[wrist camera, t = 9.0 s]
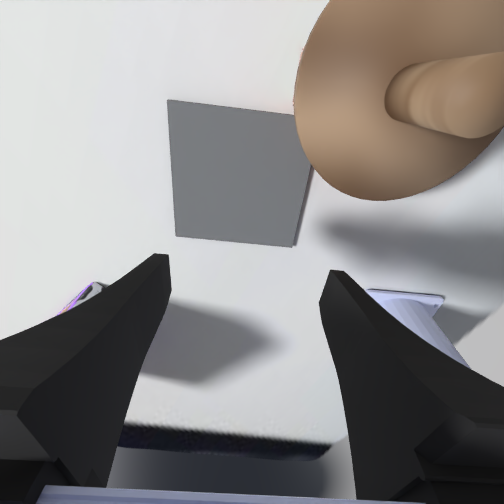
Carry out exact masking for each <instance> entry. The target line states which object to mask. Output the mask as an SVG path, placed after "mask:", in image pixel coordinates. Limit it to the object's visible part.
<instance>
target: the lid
mask: <svg viewBox="0 0 504 504" xmlns="http://www.w3.org/2000/svg"><path fill="white" fill-rule="evenodd" d="M294 118H295V124H296V130H297V134H298V137H299V141H300V144H301V146H302V148H303V151H304V153H305V155H306V157H307V158H308V160H309V161H310V163H311V165H312V166H313V167H314V169H315V170H316V171H317V172H318V174H319V175H320V176H321V177H322V178H323V179H324V180H325V181H326V182H327V183H329V184H330V185H331V186H332V187H334V188H336V189H337V190H339V191H340V192H343V193H345V194H347V195H350V196H352V197H356V198H360V199H365V200H373V201H387V200H395V199H401V198H405V197H409V196H413V195H416V194H418V193H421V192H424V191H426V190H428V189H431V188H433V187H435V186H437V185H439V184H440V183H442V182H444V181H446V180H447V179H449V178H451V177H452V176H454V175H455V174H456V173H458V172H459V171H461V170H462V169H463V168H465V167H466V166H467V165H468V164H469V163H471V162H472V161H473V160H474V159H475V158H476V157H477V156H478V155H479V154H480V153H481V152H482V151H483V150H484V149H485V148H486V147H487V146H488V145H489V144H490V143H491V142H492V141H493V140H494V138H495V137H496V136H497V135H498V134H499V132H500V131H501V130H502V128H503V127H504V0H330V1H329V2H328V4H327V5H326V7H325V8H324V10H323V11H322V13H321V14H320V16H319V18H318V20H317V22H316V24H315V25H314V27H313V29H312V31H311V33H310V35H309V38H308V40H307V43H306V45H305V48H304V50H303V53H302V57H301V60H300V63H299V67H298V71H297V77H296V82H295V91H294Z"/></svg>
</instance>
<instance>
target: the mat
mask: <svg viewBox="0 0 504 504" xmlns="http://www.w3.org/2000/svg"><path fill="white" fill-rule="evenodd" d="M167 109H168V124H169V140H170V155H171V171H172V186H173V202H174V218H175V233H176V236H177V237H188V238H198V239H208V240H219V241H229V242H239V243H250V244H260V245H270V246H281V247H291V248H292V246H293V242H294V237H295V233H296V229H297V224H298V220H299V215H300V211H301V207H302V202H303V198H304V194H305V189H306V185H307V180H308V176H309V172H310V167H311V163H310V161H309V160H308V158H307V157H306V155H305V153H304V151H303V148H302V146H301V144H300V141H299V137H298V134H297V130H296V124H295V118H294V115H290V114H282V113H274V112H266V111H257V110H249V109H241V108H233V107H225V106H217V105H209V104H201V103H193V102H184V101H176V100H167Z"/></svg>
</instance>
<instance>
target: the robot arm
mask: <svg viewBox="0 0 504 504" xmlns="http://www.w3.org/2000/svg"><path fill="white" fill-rule="evenodd" d="M171 291H172V289H171V277H170V265H169V255H167V254H156V253H154V254H153V255H151V256H150V257H149V258H147V259H146V260H145V261H143V262H142V263H141V264H140V265H138V266H137V267H136V268H134V269H133V270H131V271H130V272H129V273H127V274H126V275H125V276H123V277H122V278H120V279H119V280H118V281H116V282H115V283H113V284H111V285H110V286H108V287H107V288H105V289H104V290H102V291H101V292H99V293H98V294H96V295H95V296H93V297H91V298H89V299H88V300H86V301H84V302H82V303H81V304H79V305H77V306H75V307H73V308H71V309H70V310H68V311H66V312H64V313H61V314H59V315H57V316H55V317H53V318H51V319H49V320H47V321H45V322H43V323H40V324H38V325H36V326H34V327H31V328H29V329H27V330H24V331H22V332H20V333H17V334H15V335H12V336H10V337H7V338H5V339H2V340H0V504H504V387H503V386H501V385H499V384H497V383H495V382H493V381H491V380H489V379H487V378H486V377H484V376H482V375H480V374H479V373H477V372H475V371H473V370H471V369H470V367H469V366H468V364H467V363H466V362H465V360H464V359H463V358H462V356H461V355H460V354H459V352H458V351H457V350H456V349H455V347H454V346H453V345H452V343H451V342H450V341H449V339H448V338H447V337H446V335H445V334H444V333H443V331H442V330H441V329H440V328H439V326H438V325H437V324H436V322H435V321H434V320H433V318H432V317H433V316H434V315H435V313H436V312H437V310H438V309H439V307H440V306H441V305H442V303H443V301H444V299H443V298H442V297H441V296H434V295H423V294H412V293H401V292H390V291H379V290H366V291H365V290H364V289H363V288H361V287H360V286H359V285H358V284H357V283H356V282H355V281H354V280H353V279H352V278H351V277H350V276H349V275H348V274H347V273H345V272H344V271H339V270H330V272H329V275H328V278H327V281H326V284H325V286H324V289H323V292H322V295H321V298H320V301H319V307H320V314H321V320H322V325H323V328H324V332H325V335H326V338H327V342H328V345H329V348H330V351H331V355H332V358H333V361H334V365H335V368H336V372H337V375H338V379H339V384H340V389H341V394H342V400H343V405H344V411H345V417H346V422H347V428H348V435H349V442H350V449H351V456H352V463H353V472H354V480H355V488H356V498H357V500H350V499H349V500H348V499H329V498H308V497H286V496H266V495H245V494H223V493H202V492H181V491H160V490H139V489H118V488H117V489H116V488H106V486H107V482H108V478H109V474H110V471H111V467H112V463H113V460H114V456H115V452H116V448H117V445H118V441H119V438H120V434H121V431H122V427H123V424H124V420H125V417H126V413H127V410H128V407H129V404H130V400H131V397H132V394H133V391H134V388H135V385H136V382H137V378H138V375H139V372H140V369H141V366H142V364H143V361H144V359H145V356H146V354H147V351H148V349H149V347H150V345H151V343H152V340H153V338H154V336H155V334H156V331H157V329H158V327H159V325H160V322H161V320H162V318H163V315H164V313H165V311H166V308H167V304H168V301H169V298H170V294H171Z"/></svg>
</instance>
